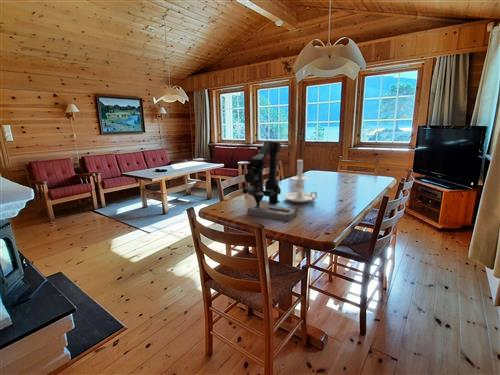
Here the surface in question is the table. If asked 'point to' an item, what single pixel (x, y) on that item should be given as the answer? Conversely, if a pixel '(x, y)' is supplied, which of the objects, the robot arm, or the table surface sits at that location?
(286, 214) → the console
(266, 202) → the fader knob
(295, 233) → the table surface
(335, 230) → the table surface
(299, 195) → the candlestick
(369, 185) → the table surface
